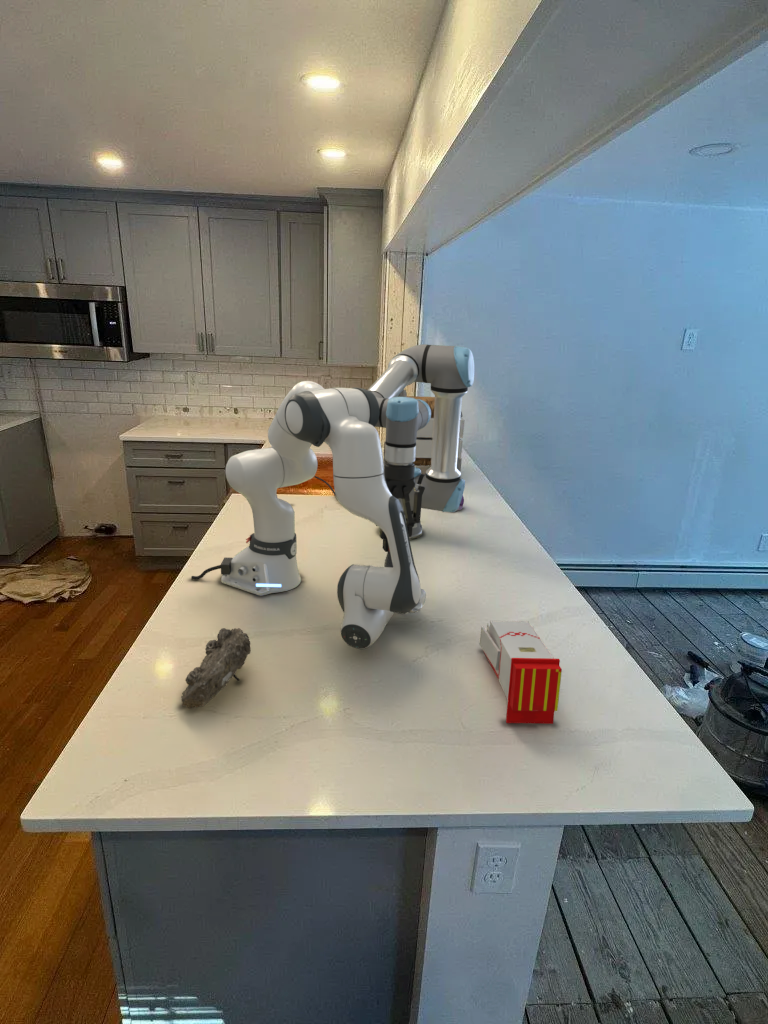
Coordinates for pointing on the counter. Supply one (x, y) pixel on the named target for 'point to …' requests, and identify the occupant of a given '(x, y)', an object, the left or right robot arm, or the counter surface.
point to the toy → (523, 670)
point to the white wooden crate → (429, 436)
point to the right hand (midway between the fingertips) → (395, 548)
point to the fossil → (216, 667)
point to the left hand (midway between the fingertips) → (394, 580)
